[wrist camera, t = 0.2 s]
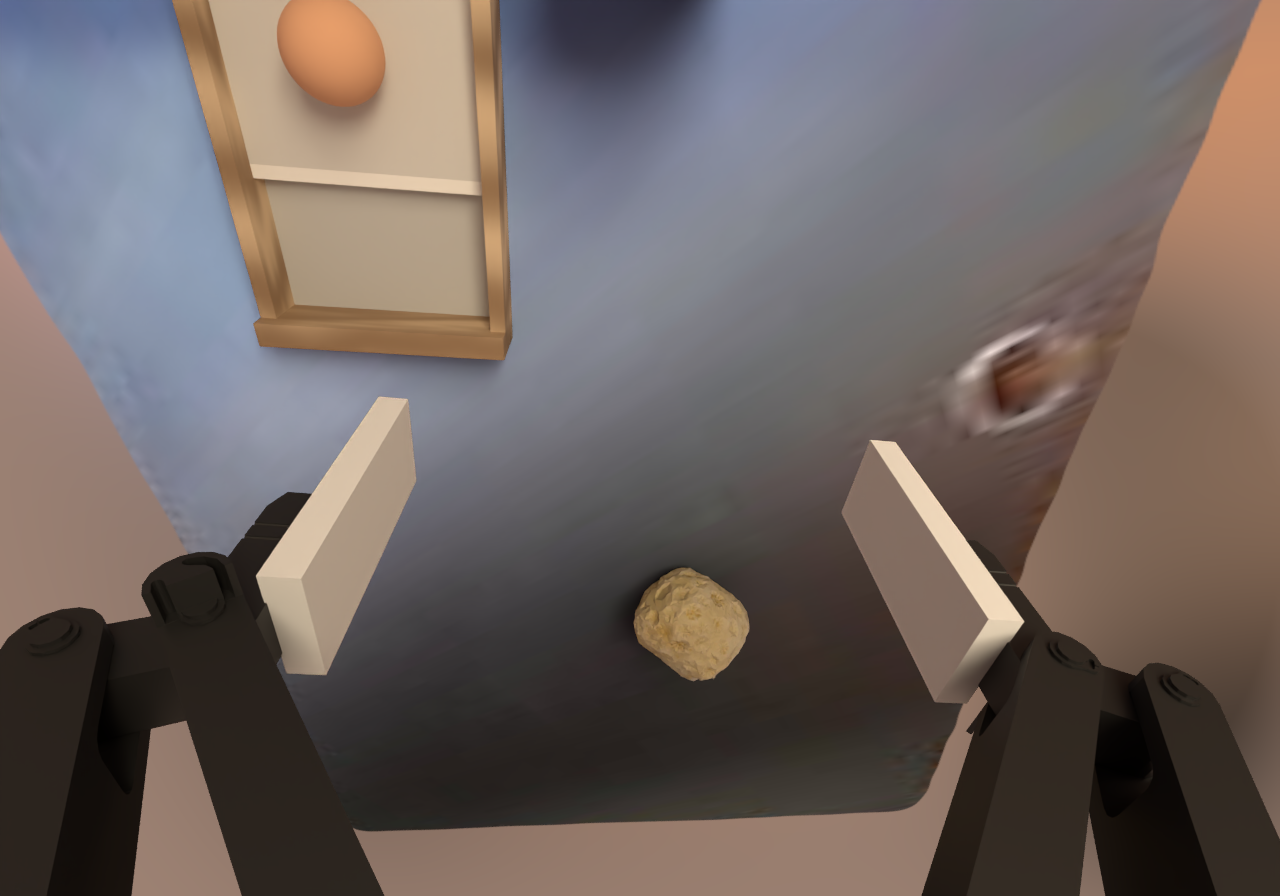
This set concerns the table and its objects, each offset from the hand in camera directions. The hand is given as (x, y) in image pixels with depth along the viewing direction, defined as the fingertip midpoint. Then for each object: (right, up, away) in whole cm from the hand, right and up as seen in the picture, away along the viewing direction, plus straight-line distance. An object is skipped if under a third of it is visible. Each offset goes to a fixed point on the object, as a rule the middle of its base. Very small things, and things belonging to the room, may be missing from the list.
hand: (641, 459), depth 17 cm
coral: (+4, -13, +42) cm, 44 cm away
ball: (-16, +21, +14) cm, 30 cm away
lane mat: (-17, +18, +20) cm, 32 cm away
